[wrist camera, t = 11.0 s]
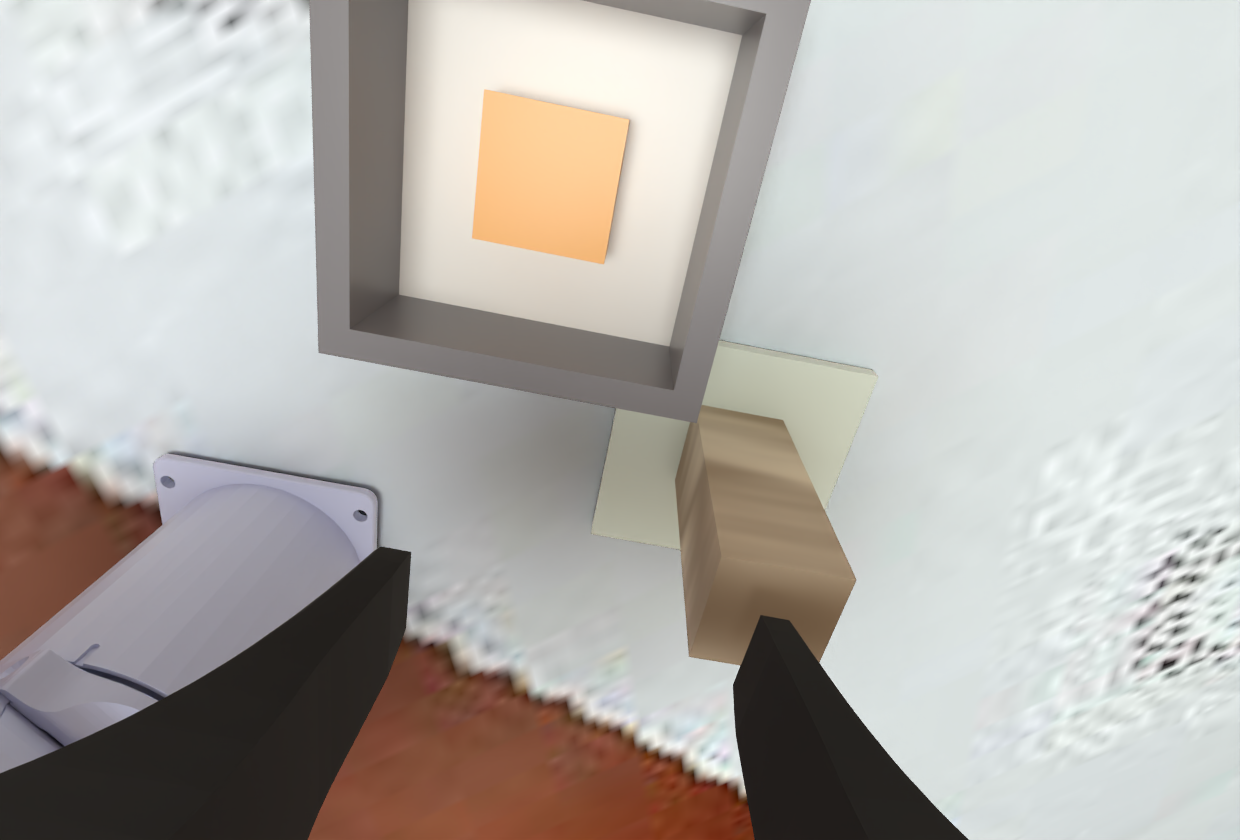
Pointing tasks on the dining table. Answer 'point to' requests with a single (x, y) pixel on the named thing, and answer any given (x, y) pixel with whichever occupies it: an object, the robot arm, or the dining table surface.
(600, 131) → the button
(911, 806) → the robot arm
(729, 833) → the dining table surface
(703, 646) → the tan wooden block
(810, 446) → the sage tile
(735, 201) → the switch box
